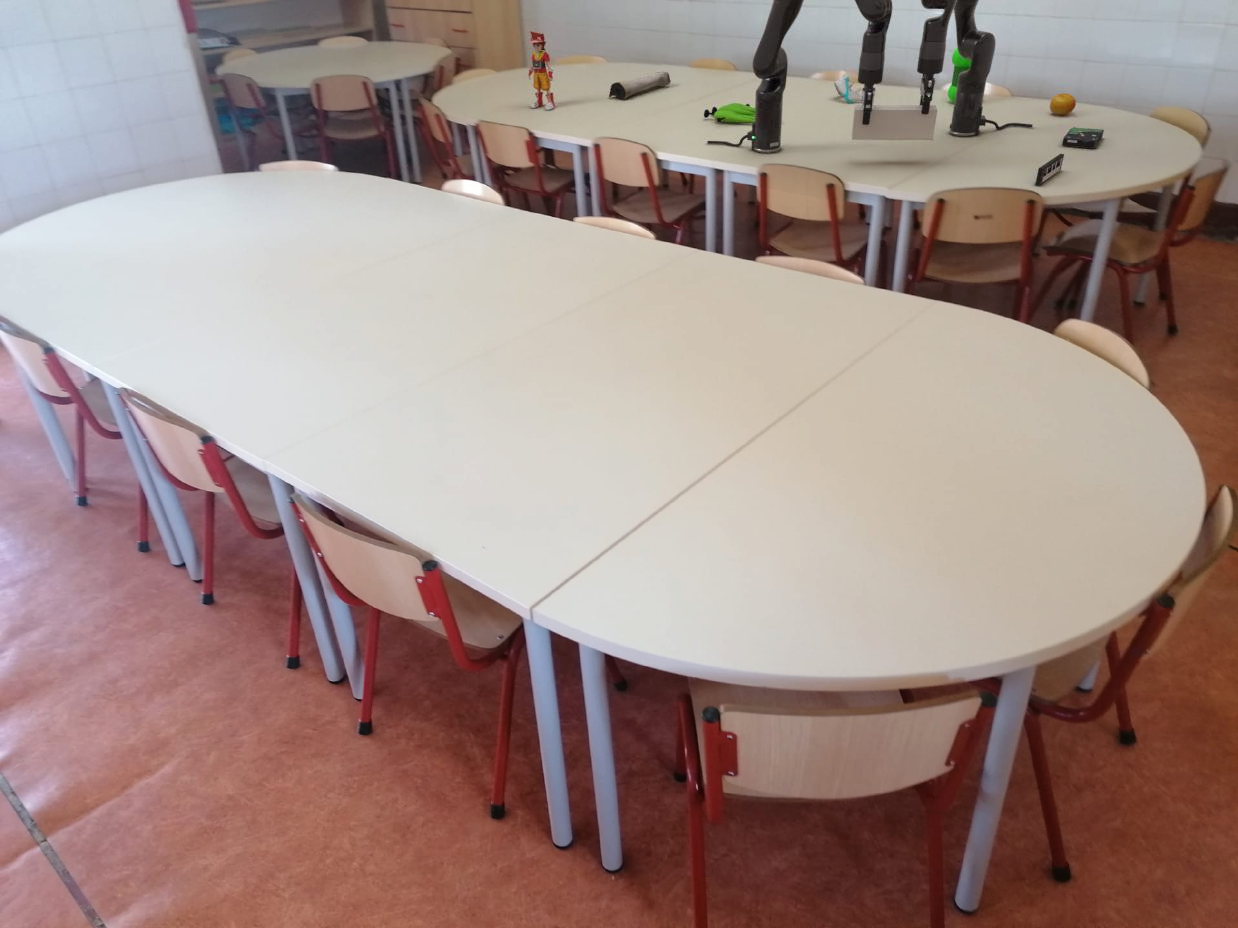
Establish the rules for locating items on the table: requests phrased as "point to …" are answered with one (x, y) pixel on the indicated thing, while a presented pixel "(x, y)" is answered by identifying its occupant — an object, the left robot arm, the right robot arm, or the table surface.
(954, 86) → the green tall lumpy piece
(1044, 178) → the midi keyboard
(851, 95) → the anatomical model
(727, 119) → the toy
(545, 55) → the toy
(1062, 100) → the fruit
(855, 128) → the box
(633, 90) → the rolled mat
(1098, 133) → the disk drive
